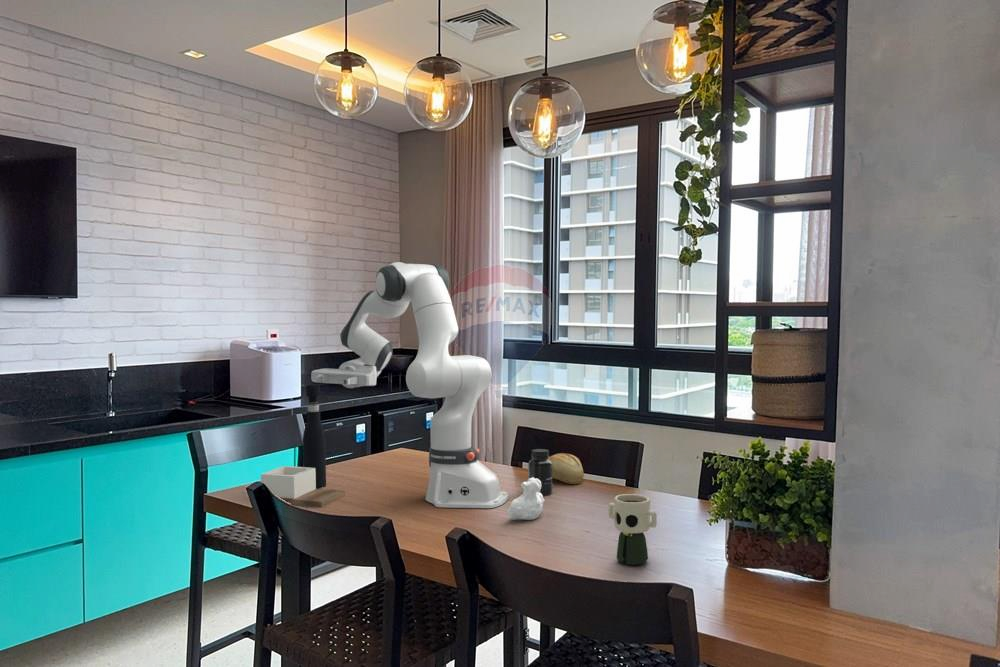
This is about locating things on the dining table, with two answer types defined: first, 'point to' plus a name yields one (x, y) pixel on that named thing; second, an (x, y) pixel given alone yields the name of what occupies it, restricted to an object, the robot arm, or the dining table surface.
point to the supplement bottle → (541, 470)
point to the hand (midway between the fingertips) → (331, 380)
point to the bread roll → (566, 468)
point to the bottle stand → (299, 486)
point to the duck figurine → (527, 501)
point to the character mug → (632, 526)
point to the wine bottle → (314, 438)
